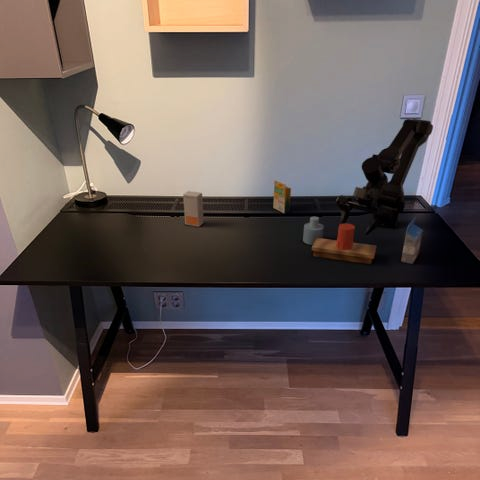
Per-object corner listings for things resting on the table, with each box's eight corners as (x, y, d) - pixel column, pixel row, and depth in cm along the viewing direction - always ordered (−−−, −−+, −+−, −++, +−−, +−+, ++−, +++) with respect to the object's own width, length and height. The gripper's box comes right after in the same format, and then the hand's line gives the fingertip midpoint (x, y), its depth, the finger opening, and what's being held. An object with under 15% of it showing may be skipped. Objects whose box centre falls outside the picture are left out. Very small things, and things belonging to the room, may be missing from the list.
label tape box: (412, 264, 147) (420, 228, 140) (399, 261, 149) (407, 226, 142) (419, 253, 153) (427, 219, 146) (407, 251, 155) (414, 216, 148)
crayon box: (289, 212, 185) (291, 183, 178) (284, 213, 183) (285, 184, 177) (278, 206, 190) (279, 178, 183) (273, 208, 188) (274, 180, 182)
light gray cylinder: (323, 238, 164) (326, 215, 159) (320, 246, 158) (322, 223, 154) (305, 235, 166) (306, 213, 161) (301, 243, 160) (302, 220, 156)
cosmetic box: (185, 224, 175) (182, 194, 168) (190, 220, 178) (187, 190, 171) (199, 227, 173) (197, 196, 166) (204, 223, 176) (202, 192, 169)
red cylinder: (349, 242, 152) (352, 223, 148) (354, 249, 148) (356, 229, 144) (334, 243, 152) (337, 223, 148) (338, 250, 148) (341, 230, 144)
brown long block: (374, 255, 152) (376, 245, 150) (372, 265, 147) (374, 255, 145) (315, 247, 158) (316, 237, 156) (311, 256, 152) (311, 247, 150)
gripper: (342, 171, 150) (321, 213, 149) (396, 182, 140) (373, 227, 139) (350, 188, 159) (331, 228, 159) (401, 200, 149) (381, 242, 149)
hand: (353, 231), depth 151 cm, fingers open, 9 cm apart
